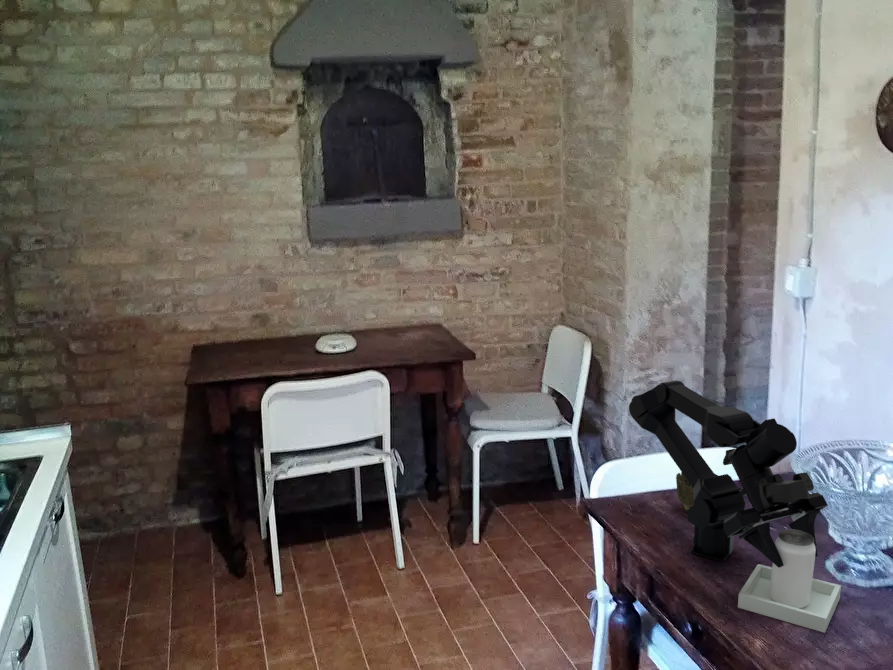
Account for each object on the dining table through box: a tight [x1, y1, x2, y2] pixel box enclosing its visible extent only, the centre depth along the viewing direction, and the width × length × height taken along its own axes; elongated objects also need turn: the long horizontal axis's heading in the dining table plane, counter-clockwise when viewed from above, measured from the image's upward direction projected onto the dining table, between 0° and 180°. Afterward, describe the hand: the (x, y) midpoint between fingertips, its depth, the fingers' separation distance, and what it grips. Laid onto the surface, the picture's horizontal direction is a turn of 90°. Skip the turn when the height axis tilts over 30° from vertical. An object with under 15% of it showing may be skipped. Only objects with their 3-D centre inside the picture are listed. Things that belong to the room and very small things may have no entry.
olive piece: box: [675, 471, 695, 513], centre depth 180 cm, size 8×7×8 cm
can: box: [770, 528, 816, 609], centre depth 144 cm, size 6×6×12 cm
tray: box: [737, 563, 842, 634], centre depth 145 cm, size 14×12×3 cm
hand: (798, 561), depth 143 cm, fingers open, 7 cm apart
